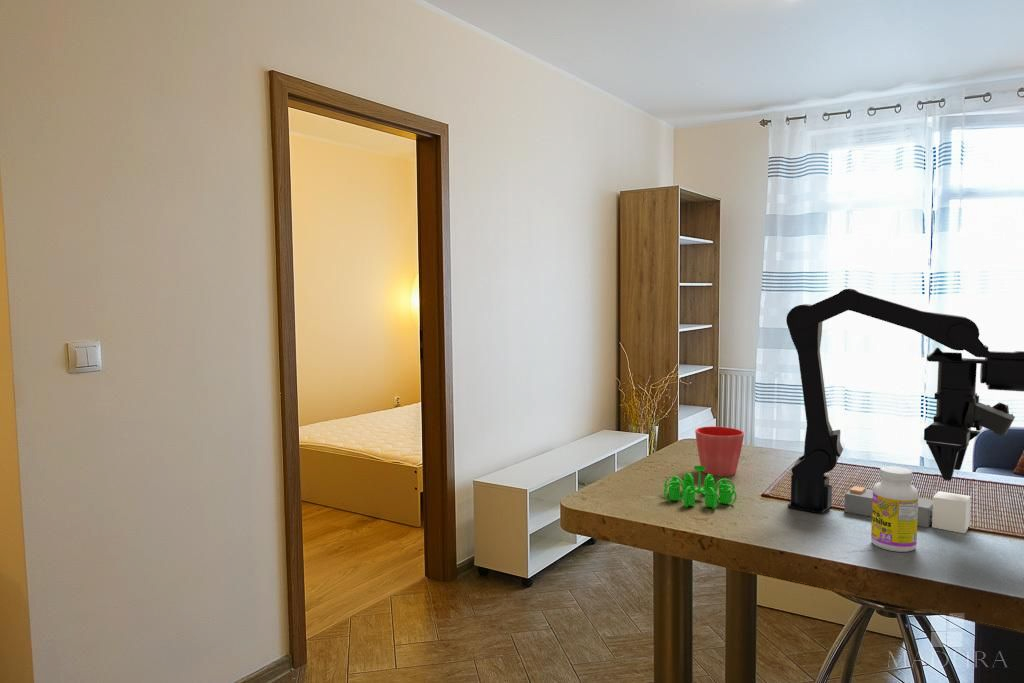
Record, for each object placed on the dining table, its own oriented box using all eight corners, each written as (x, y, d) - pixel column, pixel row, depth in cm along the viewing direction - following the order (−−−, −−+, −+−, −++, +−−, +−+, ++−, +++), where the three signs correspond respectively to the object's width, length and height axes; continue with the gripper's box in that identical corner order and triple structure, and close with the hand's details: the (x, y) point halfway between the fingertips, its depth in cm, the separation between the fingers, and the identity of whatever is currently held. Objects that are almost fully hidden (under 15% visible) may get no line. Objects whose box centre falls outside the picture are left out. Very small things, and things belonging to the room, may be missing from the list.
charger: (915, 524, 127) (916, 494, 127) (921, 517, 131) (922, 488, 131) (964, 533, 123) (966, 502, 122) (969, 526, 126) (970, 496, 126)
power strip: (844, 511, 135) (845, 490, 134) (853, 504, 139) (854, 483, 139) (928, 527, 126) (928, 505, 125) (934, 519, 130) (935, 497, 130)
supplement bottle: (862, 539, 120) (865, 465, 119) (899, 538, 121) (902, 464, 120) (886, 554, 113) (889, 475, 112) (925, 552, 114) (928, 474, 113)
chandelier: (748, 497, 145) (748, 464, 144) (722, 517, 133) (723, 481, 132) (679, 486, 154) (679, 455, 153) (649, 503, 142) (649, 469, 141)
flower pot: (749, 477, 159) (750, 435, 158) (701, 478, 159) (701, 435, 158) (735, 466, 170) (736, 426, 169) (689, 466, 170) (690, 426, 169)
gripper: (1005, 398, 112) (1000, 495, 113) (1018, 386, 126) (1013, 471, 127) (925, 392, 119) (921, 482, 120) (945, 380, 133) (942, 462, 134)
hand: (952, 474), depth 125 cm, fingers open, 9 cm apart
